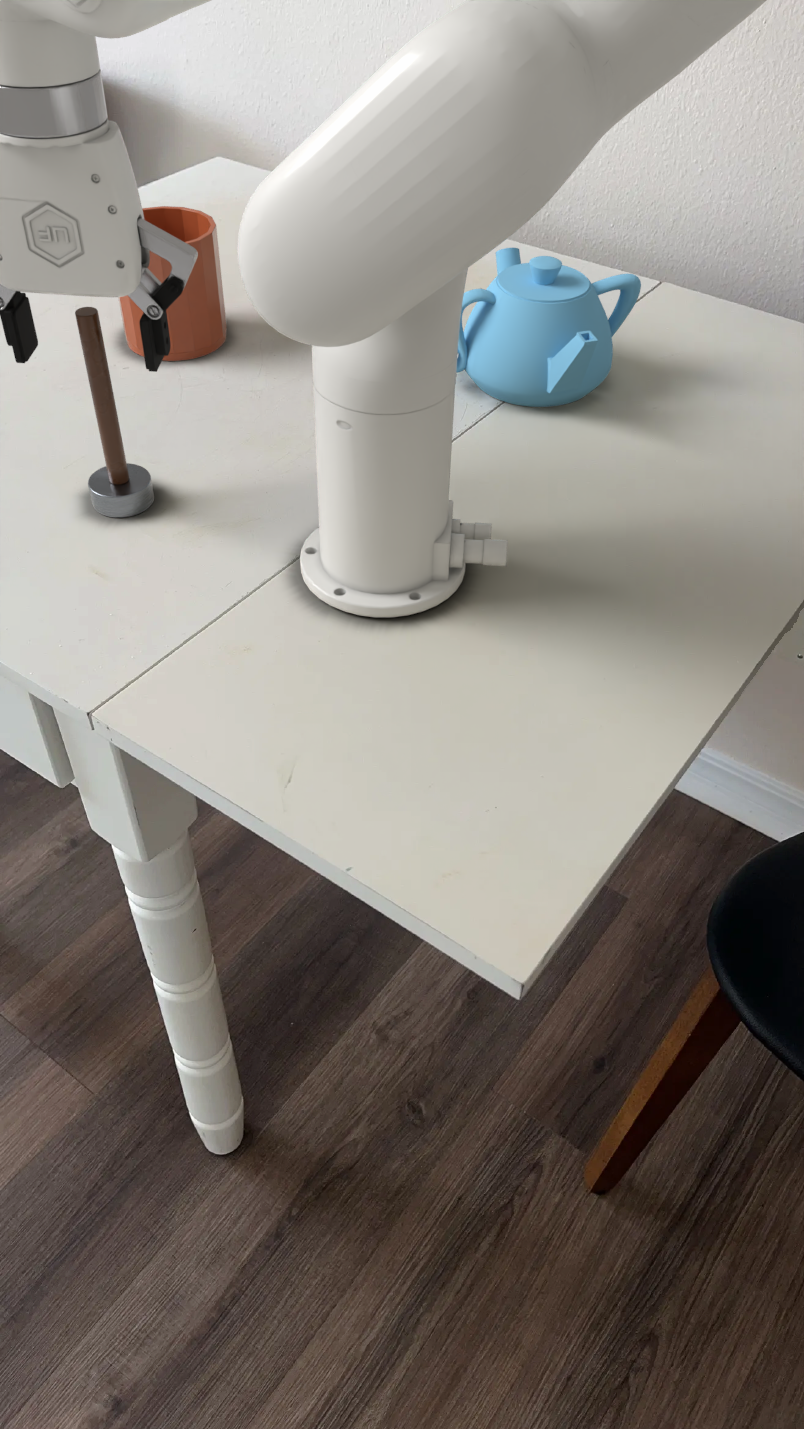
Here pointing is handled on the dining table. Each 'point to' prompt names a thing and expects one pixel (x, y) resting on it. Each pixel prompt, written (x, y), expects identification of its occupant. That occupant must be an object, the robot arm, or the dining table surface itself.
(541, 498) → the dining table surface
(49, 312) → the dining table surface
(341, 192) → the robot arm
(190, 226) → the holder
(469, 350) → the teapot
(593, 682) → the dining table surface
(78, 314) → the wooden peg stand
